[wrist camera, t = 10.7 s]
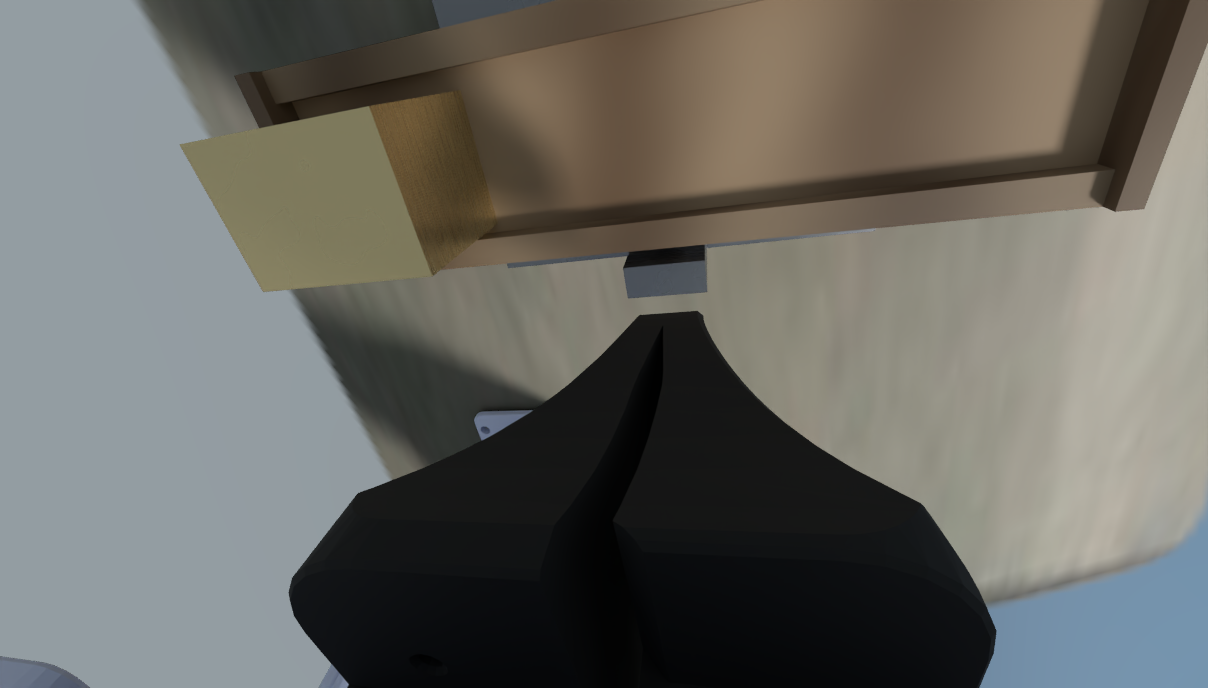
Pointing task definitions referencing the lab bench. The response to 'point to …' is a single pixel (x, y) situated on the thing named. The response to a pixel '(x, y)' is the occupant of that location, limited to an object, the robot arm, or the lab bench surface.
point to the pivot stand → (642, 268)
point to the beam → (779, 113)
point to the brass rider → (350, 193)
